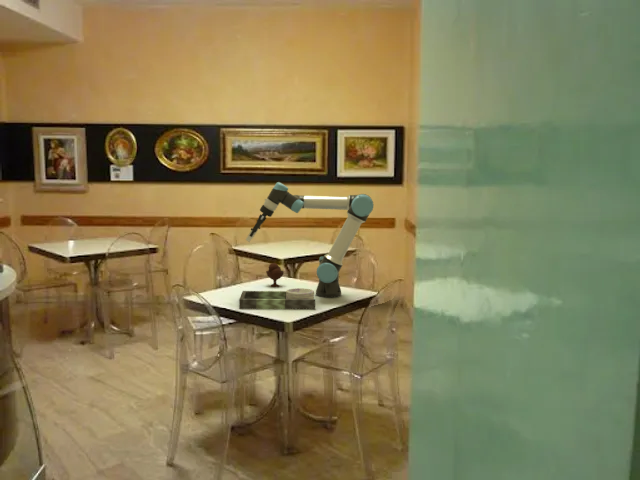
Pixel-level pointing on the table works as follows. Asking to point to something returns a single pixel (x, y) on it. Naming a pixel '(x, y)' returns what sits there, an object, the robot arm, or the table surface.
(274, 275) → the ice cream bowl
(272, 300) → the shallow tray
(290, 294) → the paper bowls
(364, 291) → the table surface
